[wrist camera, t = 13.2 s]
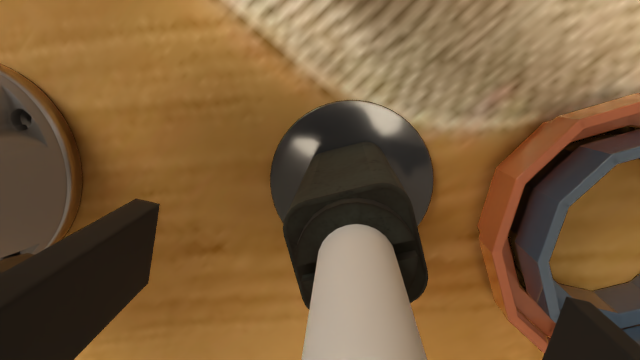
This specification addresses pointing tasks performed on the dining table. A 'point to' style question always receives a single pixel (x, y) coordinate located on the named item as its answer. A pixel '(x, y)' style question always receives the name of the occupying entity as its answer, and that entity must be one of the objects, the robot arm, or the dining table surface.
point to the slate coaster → (347, 129)
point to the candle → (356, 257)
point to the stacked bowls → (554, 216)
